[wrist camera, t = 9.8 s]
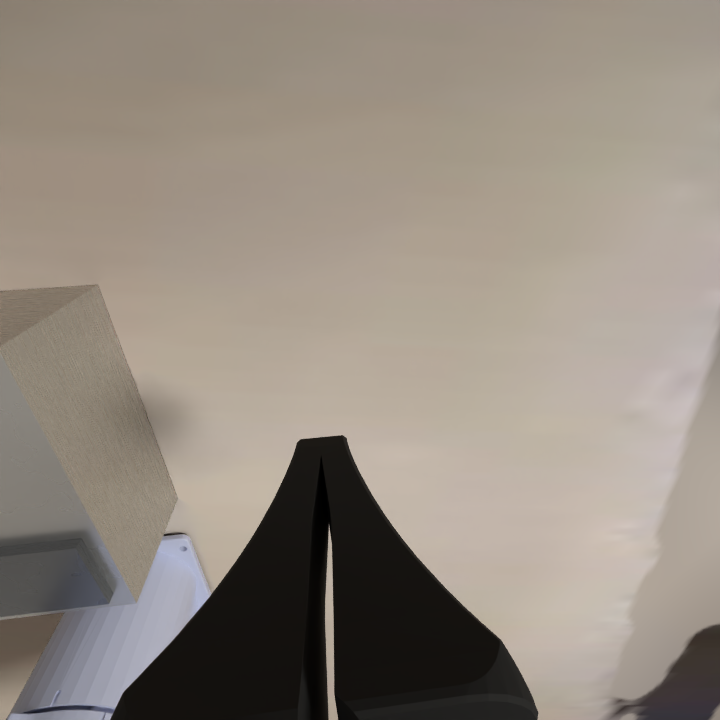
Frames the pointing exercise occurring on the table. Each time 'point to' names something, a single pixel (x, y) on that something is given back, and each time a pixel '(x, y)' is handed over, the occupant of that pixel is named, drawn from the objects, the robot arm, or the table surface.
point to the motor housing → (73, 459)
